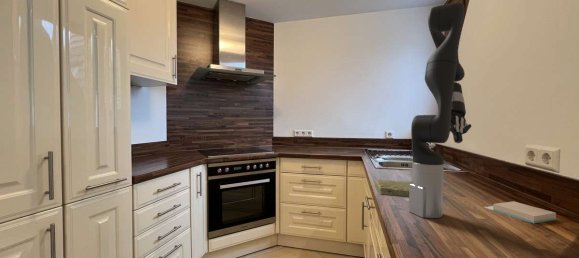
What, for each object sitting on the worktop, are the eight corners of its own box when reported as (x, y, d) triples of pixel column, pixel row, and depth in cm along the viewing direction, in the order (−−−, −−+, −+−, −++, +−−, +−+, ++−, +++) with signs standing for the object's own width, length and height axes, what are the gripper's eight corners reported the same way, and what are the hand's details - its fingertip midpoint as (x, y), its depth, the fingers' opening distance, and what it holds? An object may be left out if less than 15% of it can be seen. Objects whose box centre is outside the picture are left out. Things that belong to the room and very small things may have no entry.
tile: (493, 210, 91) (533, 223, 80) (493, 203, 91) (534, 216, 80) (513, 207, 94) (555, 219, 83) (513, 201, 94) (555, 212, 83)
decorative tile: (374, 185, 128) (374, 178, 128) (418, 188, 124) (418, 180, 124) (379, 196, 110) (379, 188, 110) (431, 200, 106) (431, 191, 106)
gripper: (447, 96, 106) (451, 134, 98) (475, 105, 108) (481, 143, 100) (433, 105, 113) (436, 141, 105) (459, 113, 115) (464, 150, 107)
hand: (458, 142), depth 102 cm, fingers closed
